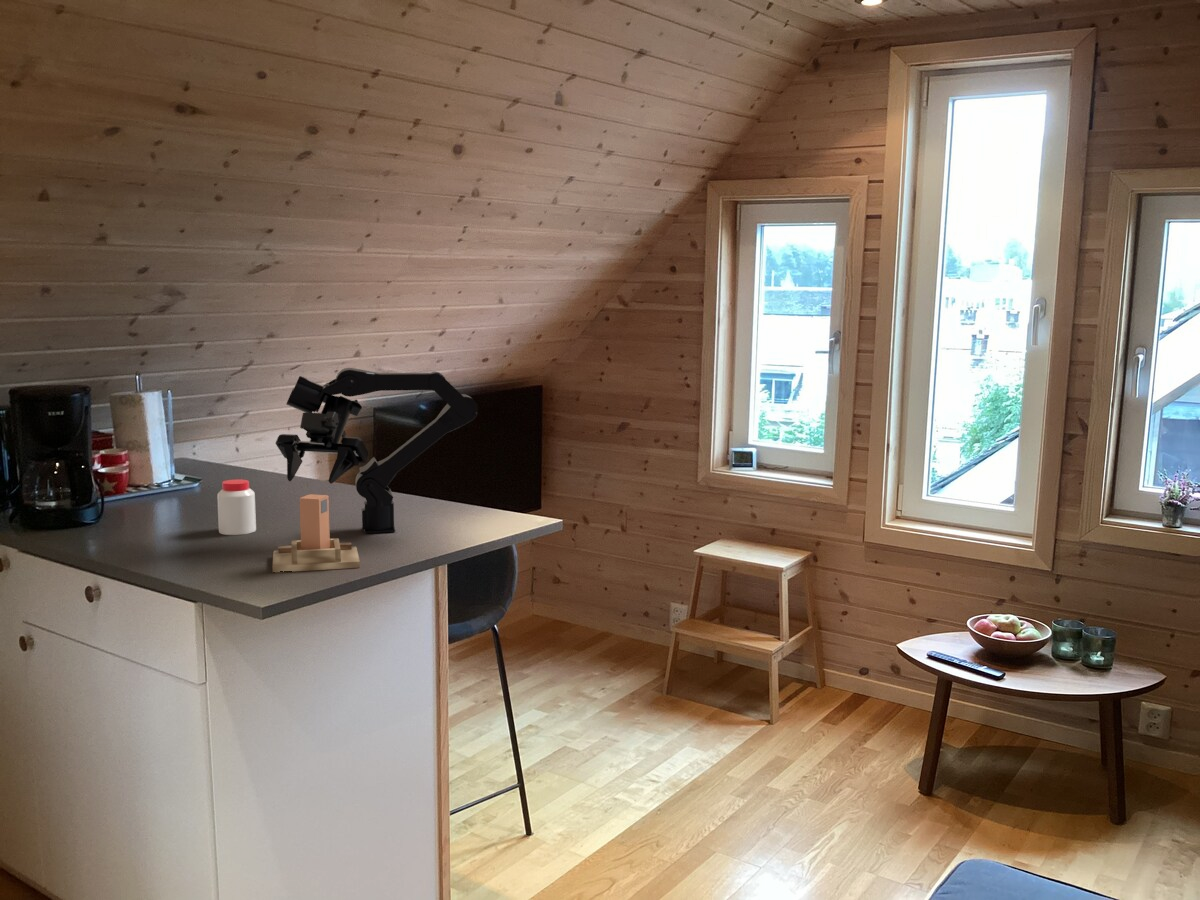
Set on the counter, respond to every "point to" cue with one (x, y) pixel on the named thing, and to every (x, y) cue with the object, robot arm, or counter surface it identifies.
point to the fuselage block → (314, 522)
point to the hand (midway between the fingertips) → (309, 481)
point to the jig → (315, 557)
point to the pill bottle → (236, 508)
